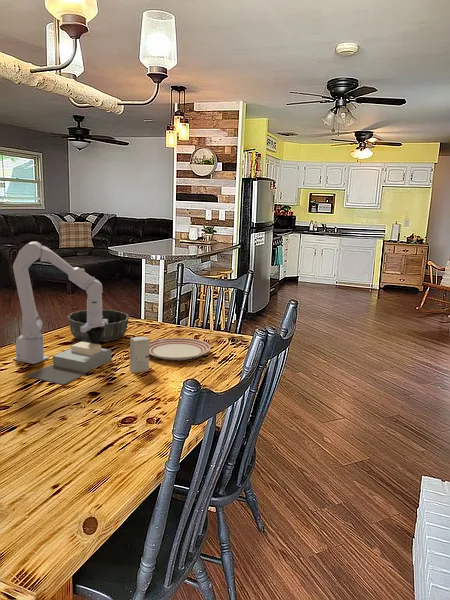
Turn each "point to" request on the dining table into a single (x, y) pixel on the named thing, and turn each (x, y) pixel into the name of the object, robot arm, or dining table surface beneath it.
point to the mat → (56, 374)
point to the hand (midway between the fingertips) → (94, 346)
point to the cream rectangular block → (86, 348)
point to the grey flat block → (81, 360)
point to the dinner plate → (178, 348)
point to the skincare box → (139, 354)
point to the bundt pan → (111, 330)
